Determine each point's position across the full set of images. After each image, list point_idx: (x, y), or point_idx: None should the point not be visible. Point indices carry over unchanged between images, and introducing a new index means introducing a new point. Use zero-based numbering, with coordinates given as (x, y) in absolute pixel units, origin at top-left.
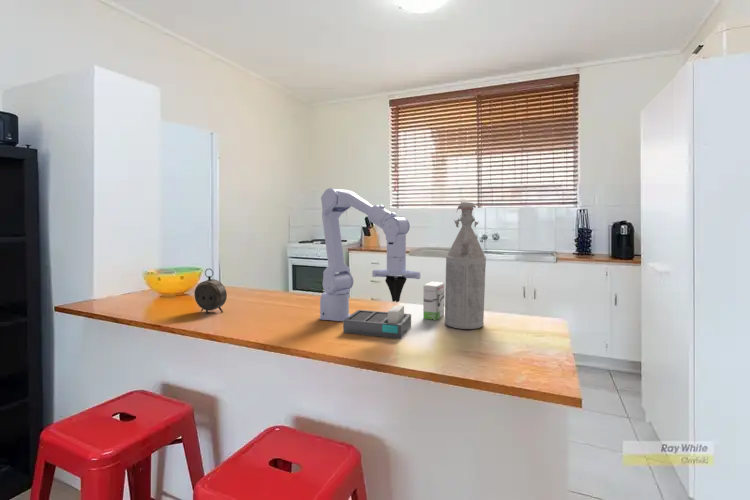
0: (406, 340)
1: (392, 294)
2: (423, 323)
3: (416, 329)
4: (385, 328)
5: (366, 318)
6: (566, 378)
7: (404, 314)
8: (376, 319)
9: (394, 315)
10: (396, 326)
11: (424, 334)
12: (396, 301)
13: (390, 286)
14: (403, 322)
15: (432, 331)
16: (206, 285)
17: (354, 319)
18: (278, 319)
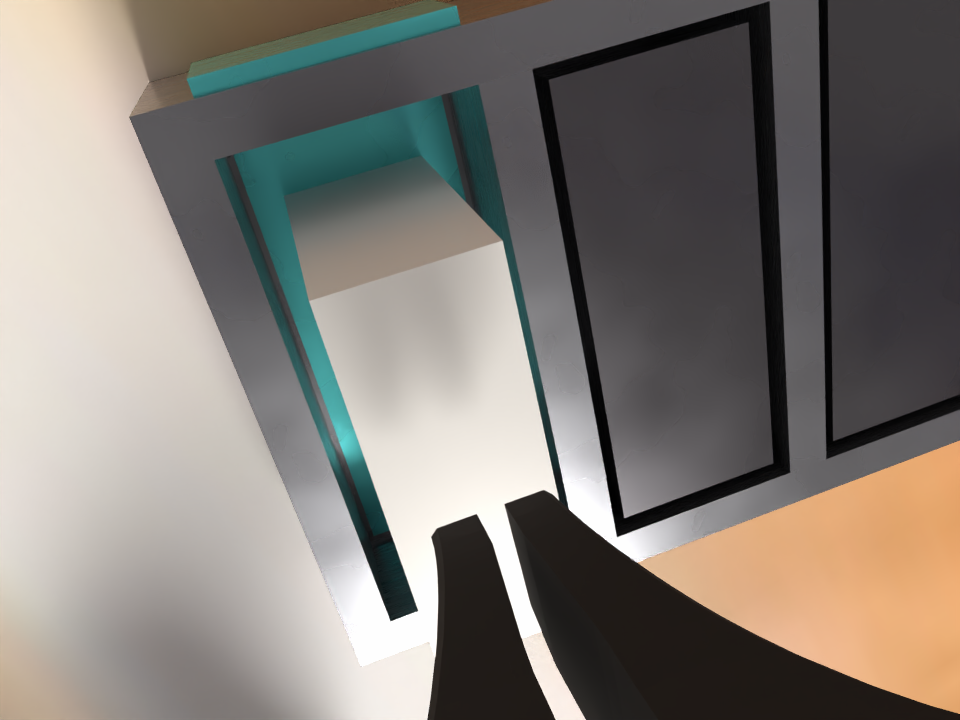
0: (41, 62)
1: (596, 572)
2: (283, 706)
3: (223, 513)
4: (389, 16)
5: (801, 143)
6: None
7: None
8: (661, 209)
9: (359, 256)
10: (205, 71)
11: (13, 421)
12: (464, 524)
13: (751, 697)
14: (204, 283)
15: (12, 566)
16: None
17: (943, 19)
18: None
